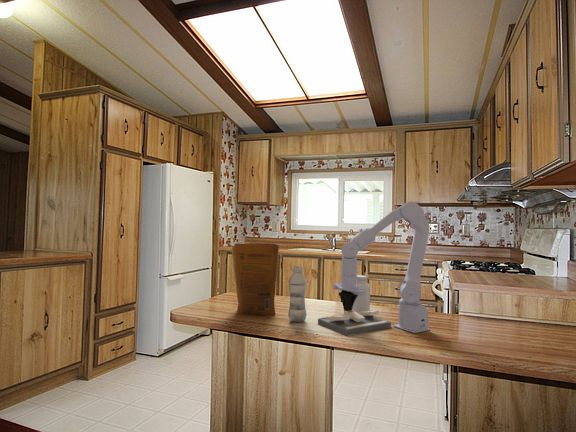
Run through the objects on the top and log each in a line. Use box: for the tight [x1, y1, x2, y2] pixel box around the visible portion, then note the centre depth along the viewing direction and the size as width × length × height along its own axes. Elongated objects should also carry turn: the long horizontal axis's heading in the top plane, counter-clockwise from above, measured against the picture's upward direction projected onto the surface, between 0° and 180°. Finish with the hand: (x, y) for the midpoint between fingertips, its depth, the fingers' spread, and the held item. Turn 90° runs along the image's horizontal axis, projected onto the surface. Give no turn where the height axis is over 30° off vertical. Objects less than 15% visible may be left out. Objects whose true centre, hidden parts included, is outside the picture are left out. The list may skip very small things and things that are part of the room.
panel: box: [317, 312, 392, 336], centre depth 132 cm, size 16×20×3 cm
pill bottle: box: [352, 274, 371, 312], centre depth 151 cm, size 8×8×15 cm
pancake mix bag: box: [231, 242, 280, 316], centre depth 147 cm, size 7×19×28 cm, turn 73°
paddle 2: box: [358, 310, 380, 316], centre depth 136 cm, size 7×4×1 cm, turn 32°
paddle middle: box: [343, 310, 365, 322], centre depth 132 cm, size 7×4×1 cm, turn 32°
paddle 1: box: [328, 314, 350, 320], centre depth 128 cm, size 7×4×1 cm, turn 32°
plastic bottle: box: [287, 266, 307, 323], centre depth 136 cm, size 6×7×20 cm
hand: (347, 312), depth 135 cm, fingers closed, pressing on paddle middle
